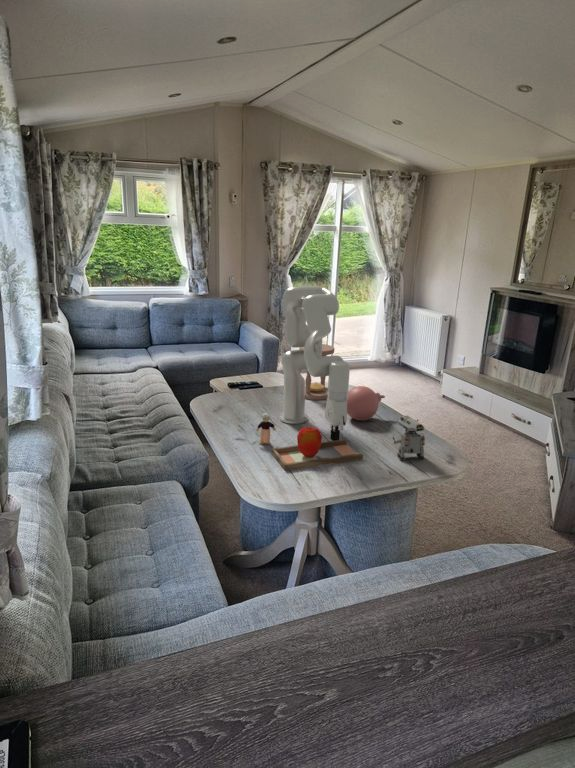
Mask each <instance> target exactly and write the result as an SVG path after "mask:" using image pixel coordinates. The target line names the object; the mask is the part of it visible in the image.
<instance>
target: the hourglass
mask: <svg viewBox="0 0 575 768" xmlns="http://www.w3.org/2000/svg"><path fill="white" fill-rule="evenodd" d="M298 350H304V347H298ZM334 353H335V347H334V346H333V345H330V344H324V343H322V356H331V355H333V354H334ZM305 376H306V377H305V379H304V380H305V400H310V401H324V400H327V396H328V386H327V387H326V377H327V376H322V377H319V378H320V383H319V382H316V381H315V382H312V376H311V375H310V374H309V372H308V371H306V375H305Z"/></svg>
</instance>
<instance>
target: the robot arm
mask: <svg viewBox="0 0 575 768" xmlns="http://www.w3.org/2000/svg"><path fill="white" fill-rule="evenodd" d="M282 302H283V303H282V304H283V308H284V311H285V342H286V345H287V346H288V347H290V348H294V350H293V349H292V350H288V351H285V352H284V353H283V355H282V356H281V365H282V371H283V407H282V408H283V409H282V411H283V412H282V413H281V414H280V415H279V420H280V421H281V422H283V423H285V424H290V425H291V424H294V425H297V424H304V423H306V422H307V421H308V419H309V416H308V415H307V414H305V413H306V412H305V410H306V409H305V408H306V399H305V387H306V382H305V380H306V379H305V377H303V376H302V374H301V373H303V372H307V371H308V372H309V374H310V375H311V377H313V378H320V377H322V376H326V377H328V380H327V381H328V383H327V388H328V396H327V399H326V403H325V408H324V409H325V411H324V418H325V420H326V422H328V423H330V424H329V425H330V441H336V440H341V439H340V437H341V431H343V430H344V427H345V426H346V425H347V419H348V414H347V399H348V392H349V388H350V387H349V385H350V384H349V383H350V371H351V367H350V366H351V365H350V363H348V362H347V361H345V360H344V359H343V358H342V357H341V356H340V355H336V354H335V355H326V356H322V344H323V339H324V338H325V337H328V335H329V334H331V332H332V327H331V323H330V320H329V317H328V316H335V315H336V314H337V313H339V309H340V304H339V300H338V298H337V296H336V295H335V294H334V293H333V292H332V291H330V290H329V289H327V288H326V287H324V286H320V285H311V286H310V285H309V286H306V285H303V286H301V285H300V286H292V287H288V288H286V289H285V290H284V292H283V295H282ZM300 347H304V350H299V349H295V348H300Z"/></svg>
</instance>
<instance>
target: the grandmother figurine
mask: <svg viewBox="0 0 575 768" xmlns="http://www.w3.org/2000/svg"><path fill="white" fill-rule="evenodd" d="M261 419H262V421H261V422H260V423H259V424H258V425H257V427H256V429H255V430H256V432H259V430H260V437H259V442H258V445H264V444H265V445H270V444H271V442H270V440H271V429H272V430H273V431H276V427H275V424H274V423H272V422H271V421H270V419H271V416H270V414H269V413H267V412H265V413H263V414H262V416H261ZM270 428H271V429H270Z"/></svg>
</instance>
